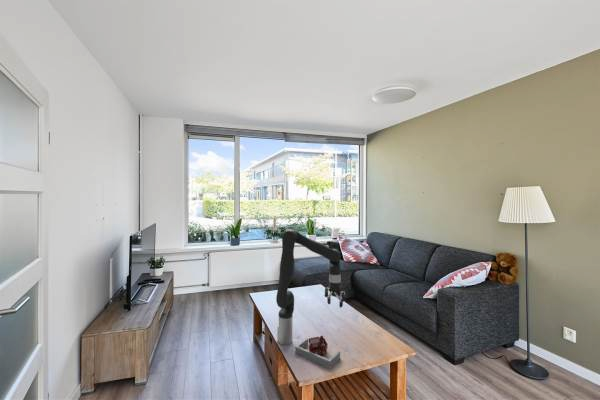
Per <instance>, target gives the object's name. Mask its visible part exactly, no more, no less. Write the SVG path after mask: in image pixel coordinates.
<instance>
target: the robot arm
mask: <svg viewBox="0 0 600 400" xmlns="http://www.w3.org/2000/svg"><path fill="white" fill-rule="evenodd" d="M281 235H282V236H281V243H282V244H281V245H282V246H281V247H282V249H281V256H280V264H279V278H278V285H277V292H276V297H275V299H276V300H275V301H276V304H277V306H278V308H280V310H279V311H278V325H277V328H276V329H277V335H276V338H277V342H278V344H280V345H281V346H288V345H290V344H292V343H293V317H294V315H293V314H294V311H295V296H294V293H293V292H292V291H291V290H288V289H289V286H290V283H291V281H292V279H293V276H294V272H295V256H294V255H295V253H294V251H295V245H296V244H298V245H300V246H303V247H304V248H306V249H307V250H309V251H310V252H313V253H314V254H317V255H320V256H322V257H323V258H326V259H327V260H329V274H328V286H327V287H325V288H324V297H325V298H326V300H327V304H328V305H331V301H332V299H331V298H332V297H335V298H337V299H338V300H339V308H342V307H343V306H344V302H346V300H347V297H346V291H343V290H342V289H341V288H342V276H341V258H342V257H341V253H340V251H339V250H338V249H337V248H330V247H328V246H327V245H325V244H323V243H321V242H318V241H316V240H314V239H311V238H309V237H307V236H305V235H303V234H301V232H298V231H296V230H295V229H292V228H287V229H286V230H285V231H284V232H283V233H282V234H281Z"/></svg>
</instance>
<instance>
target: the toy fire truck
mask: <svg viewBox="0 0 600 400" xmlns="http://www.w3.org/2000/svg"><path fill="white" fill-rule="evenodd" d="M328 345H329V344H328V342H327V340H326V338H325V337H324V336H323V335H320V336H314V337H309V338H308V351H310V352H312V353H315V354H317V355H319V356H322V357H324V356H326V355H327V353H328V351H327V350H328Z"/></svg>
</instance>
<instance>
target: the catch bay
mask: <svg viewBox="0 0 600 400" xmlns="http://www.w3.org/2000/svg"><path fill="white" fill-rule="evenodd" d="M308 346H309V338H305V339H304V340H302V341H301V342H300V343H298V344H297V345H295V347H294V350H295V351H294V353H295V354H296V355H299V356H301V357H303V358H306V359H308V360H310V361H312V362H314V363H316V364H320V366H323V367H326V368H328V369H331V368H332V367H333V366H334V364H336V362H338V361H339V360H340V359H341V351H340V350H337V352H335V353H334V354H333V355H332V356H331V357H330V358H326V357H324V356H323V355H320V354H319V355H317V354H315V353H312V352H310V351H309V349H308V350H307V349H305V348H306V347H308Z"/></svg>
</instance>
